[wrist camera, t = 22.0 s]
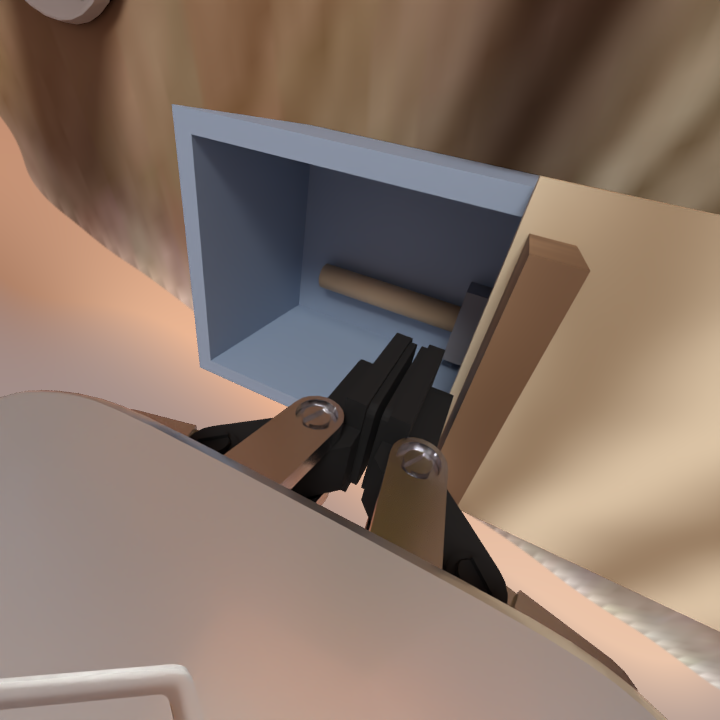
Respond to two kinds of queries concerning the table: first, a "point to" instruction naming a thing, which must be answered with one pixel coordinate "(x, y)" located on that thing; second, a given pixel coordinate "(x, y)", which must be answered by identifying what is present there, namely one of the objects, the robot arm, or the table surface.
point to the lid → (600, 394)
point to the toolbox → (333, 248)
